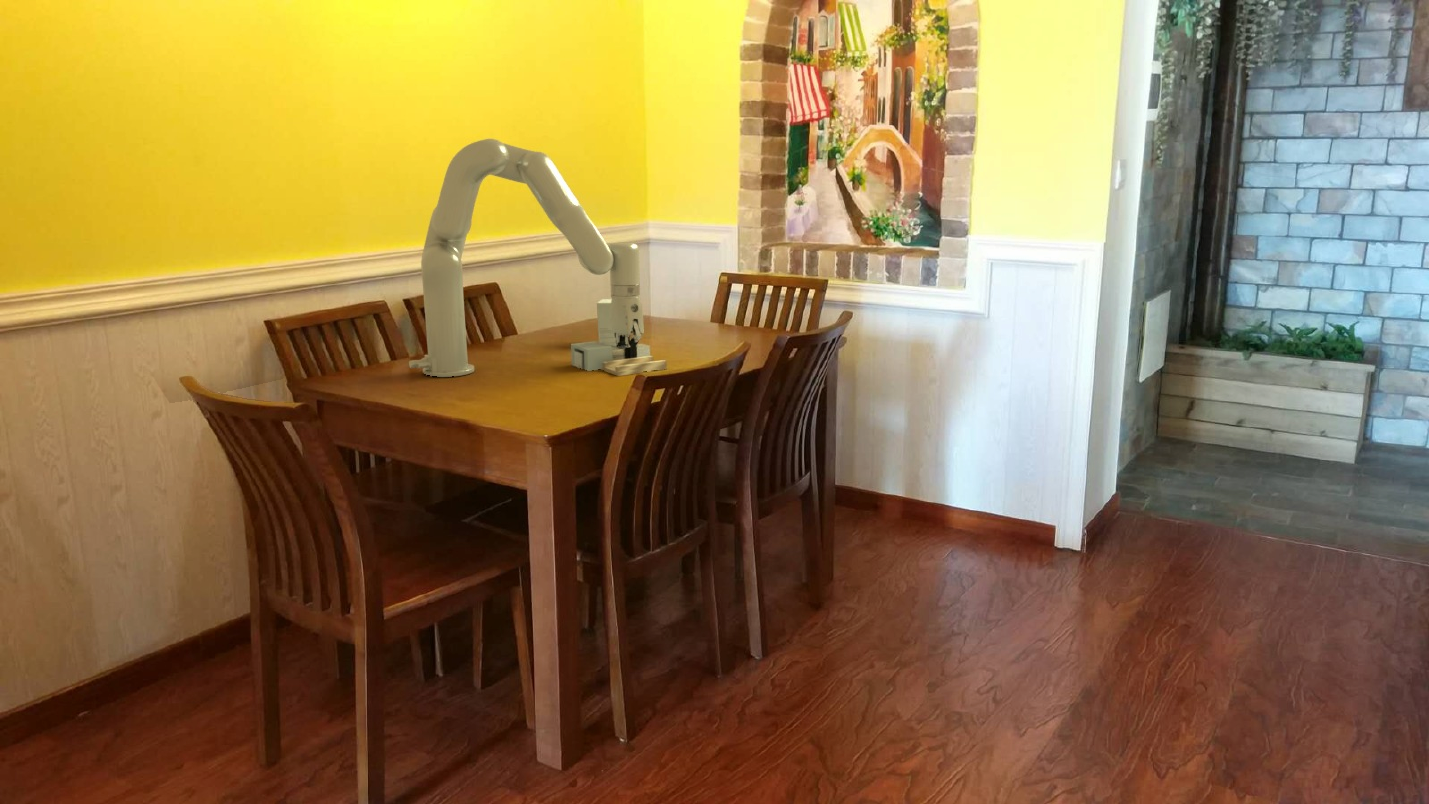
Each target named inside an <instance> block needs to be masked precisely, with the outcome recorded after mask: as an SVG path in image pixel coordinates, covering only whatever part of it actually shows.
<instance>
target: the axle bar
mask: <svg viewBox="0 0 1429 804" xmlns="http://www.w3.org/2000/svg"><path fill="white" fill-rule="evenodd" d="M611 347H612V358H613V361H614V360H622V359H625V347H627V345H626V346H611ZM574 352H575V366H574V367H575V368H578V369H580V368H581V370H585V367H584V351H582V350H580V351H574ZM645 356H651V345H648V344H645V343H638V346H637V357H645Z"/></svg>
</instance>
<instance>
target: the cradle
mask: <svg viewBox="0 0 1429 804" xmlns="http://www.w3.org/2000/svg"><path fill="white" fill-rule="evenodd" d="M664 369H665V370H667V369H668V365H667V360H665V359H663V360H661V359H660V360H654V356H653V355H650V356H645V357H637V358H630V359H622V360H614V361H607V362H603V369H602V371H603V370H604V372H606V373H609V374H611V375H614V376H616V377H620V376H628V375H629V376H630V375H636V374H643V373H645V372H643V371H647V372H646V373H651V372H652V371H651V370H658V371H663V370H664ZM665 370H664V371H665Z"/></svg>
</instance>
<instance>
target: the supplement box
mask: <svg viewBox="0 0 1429 804" xmlns="http://www.w3.org/2000/svg"><path fill="white" fill-rule="evenodd" d="M611 300H612V298H602V299H600V300H599V301H598V302H596V311H597V334H598V342H599V343H602V344H605V345H608V346H611V347H616V345H618V344H616V342H615V340H616V338H615V336H614V334H613V332H612V329H611ZM622 336H623V335H622ZM625 344H626V343H625Z"/></svg>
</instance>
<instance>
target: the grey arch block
mask: <svg viewBox="0 0 1429 804" xmlns="http://www.w3.org/2000/svg"><path fill="white" fill-rule="evenodd" d="M612 347H613V346H608V345H605V344H602V343H599V341H587V342H577V343H576V342H575V343H571V344H570V355H571V357H570V358H571V366H573V367H575V352H574V351H580V350H582V351H584V367H585V369H584V370H585V371H586V370H587V371H586V372H592V370H594V371H599V370H598V369H601V370H603V362H607V361H613V358H612Z"/></svg>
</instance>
